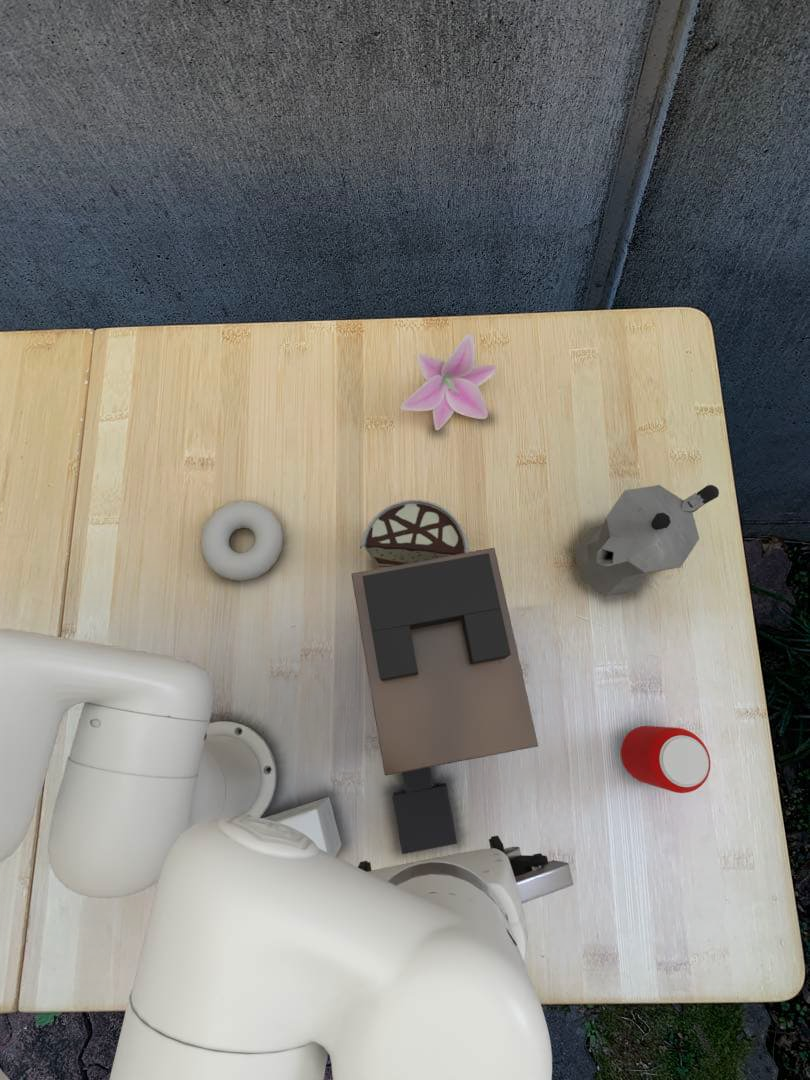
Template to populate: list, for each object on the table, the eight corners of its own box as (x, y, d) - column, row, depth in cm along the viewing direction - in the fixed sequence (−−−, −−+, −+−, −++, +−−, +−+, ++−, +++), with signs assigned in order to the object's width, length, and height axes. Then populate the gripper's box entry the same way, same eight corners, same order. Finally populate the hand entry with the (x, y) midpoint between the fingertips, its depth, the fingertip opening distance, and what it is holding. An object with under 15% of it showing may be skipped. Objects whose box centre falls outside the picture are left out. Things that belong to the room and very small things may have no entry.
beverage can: (657, 717, 78) (698, 718, 67) (681, 770, 77) (728, 780, 65) (608, 737, 78) (642, 742, 66) (632, 791, 77) (671, 805, 65)
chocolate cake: (468, 524, 85) (475, 500, 75) (465, 573, 83) (471, 554, 73) (370, 515, 85) (364, 490, 75) (365, 563, 84) (358, 544, 74)
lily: (386, 422, 89) (405, 425, 80) (400, 330, 87) (421, 322, 78) (472, 436, 92) (498, 440, 83) (487, 348, 90) (516, 342, 81)
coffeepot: (589, 621, 81) (636, 596, 64) (545, 555, 83) (578, 514, 66) (693, 555, 83) (766, 513, 66) (647, 493, 85) (706, 436, 68)
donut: (220, 595, 83) (296, 565, 84) (211, 590, 80) (291, 559, 80) (195, 522, 85) (270, 493, 86) (186, 514, 82) (263, 484, 83)
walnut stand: (395, 754, 78) (384, 775, 52) (372, 617, 82) (351, 573, 56) (498, 735, 78) (538, 746, 52) (470, 599, 82) (494, 547, 56)
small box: (273, 868, 75) (251, 893, 65) (261, 816, 77) (237, 832, 66) (343, 846, 76) (332, 867, 66) (330, 795, 77) (317, 807, 67)
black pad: (381, 681, 54) (379, 679, 51) (365, 583, 56) (362, 575, 53) (506, 657, 54) (511, 654, 51) (485, 561, 56) (488, 552, 53)
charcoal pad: (402, 848, 76) (402, 854, 73) (388, 765, 78) (387, 767, 75) (455, 838, 76) (457, 843, 73) (440, 755, 78) (441, 757, 75)
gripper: (272, 1070, 32) (324, 949, 49) (628, 1000, 33) (560, 903, 49) (253, 899, 34) (309, 838, 51) (590, 834, 34) (536, 795, 51)
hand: (433, 870), depth 50 cm, fingers open, 9 cm apart
